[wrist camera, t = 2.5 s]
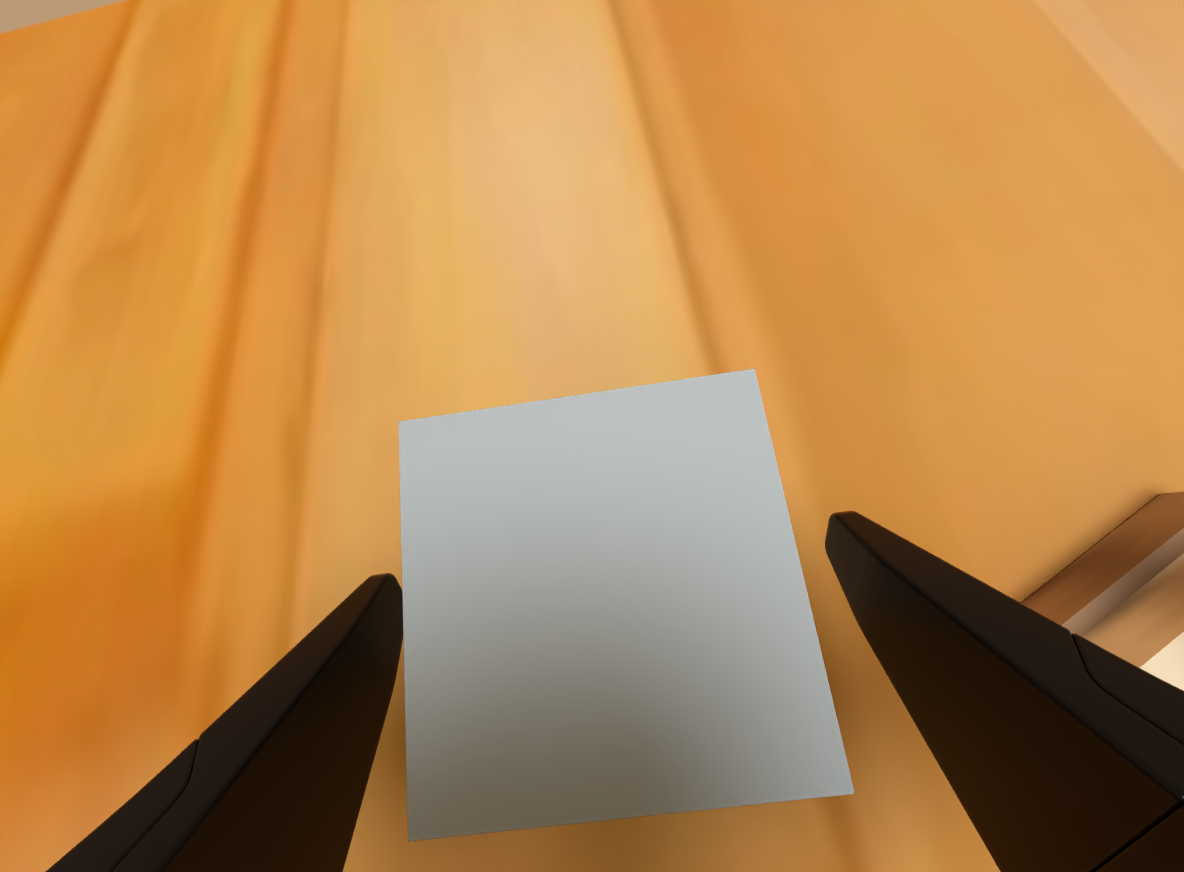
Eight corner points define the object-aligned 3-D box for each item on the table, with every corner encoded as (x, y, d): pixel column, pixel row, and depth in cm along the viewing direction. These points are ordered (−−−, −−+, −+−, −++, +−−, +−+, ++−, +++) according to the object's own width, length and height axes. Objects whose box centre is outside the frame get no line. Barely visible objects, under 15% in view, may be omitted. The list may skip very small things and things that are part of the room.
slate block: (689, 612, 16) (855, 794, 4) (565, 628, 16) (408, 841, 5) (668, 488, 17) (754, 369, 5) (552, 504, 17) (398, 421, 6)
